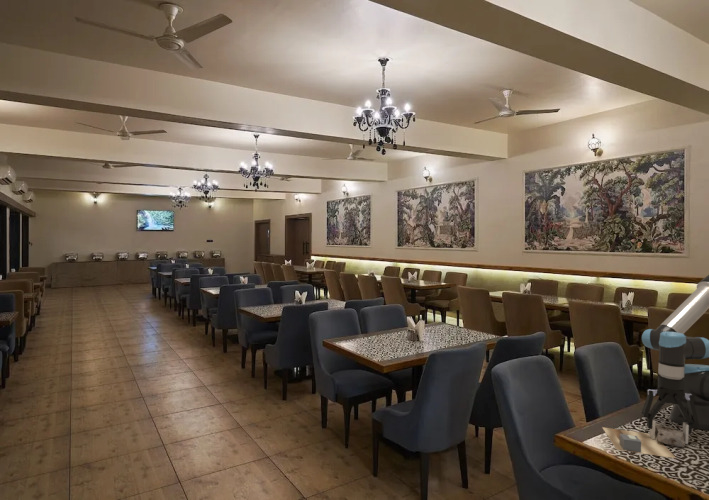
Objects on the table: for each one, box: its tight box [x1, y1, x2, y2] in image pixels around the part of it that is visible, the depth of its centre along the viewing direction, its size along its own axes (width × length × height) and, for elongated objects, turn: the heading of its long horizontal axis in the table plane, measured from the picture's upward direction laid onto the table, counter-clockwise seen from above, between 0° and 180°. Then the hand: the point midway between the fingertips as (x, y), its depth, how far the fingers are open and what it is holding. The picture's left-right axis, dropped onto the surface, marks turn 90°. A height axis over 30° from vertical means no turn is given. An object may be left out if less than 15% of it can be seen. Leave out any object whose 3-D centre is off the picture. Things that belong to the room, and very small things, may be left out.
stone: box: [655, 422, 686, 448], centre depth 157 cm, size 13×6×10 cm
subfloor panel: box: [601, 426, 677, 459], centre depth 155 cm, size 17×20×1 cm
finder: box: [619, 434, 641, 453], centre depth 149 cm, size 5×5×4 cm
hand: (668, 440), depth 157 cm, fingers closed on stone, 9 cm apart
